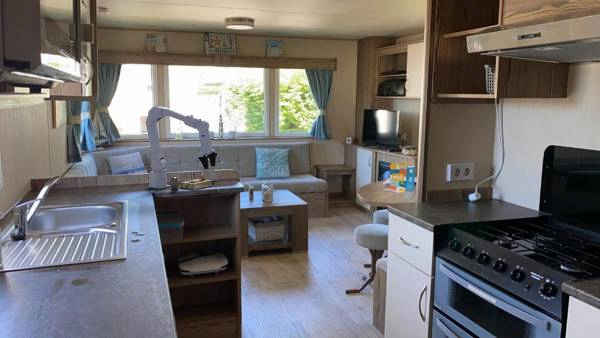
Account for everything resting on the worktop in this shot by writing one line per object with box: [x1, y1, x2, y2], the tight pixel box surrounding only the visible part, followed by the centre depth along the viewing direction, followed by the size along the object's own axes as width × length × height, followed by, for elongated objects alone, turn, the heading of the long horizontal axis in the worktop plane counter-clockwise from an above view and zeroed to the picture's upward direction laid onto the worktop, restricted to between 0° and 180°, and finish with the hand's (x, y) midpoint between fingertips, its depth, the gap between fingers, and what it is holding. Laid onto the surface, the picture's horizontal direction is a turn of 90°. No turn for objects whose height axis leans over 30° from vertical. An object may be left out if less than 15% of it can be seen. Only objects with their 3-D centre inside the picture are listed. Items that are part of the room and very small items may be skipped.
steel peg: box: [169, 176, 179, 192], centre depth 251 cm, size 4×4×7 cm
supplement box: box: [198, 158, 216, 182], centre depth 279 cm, size 7×7×13 cm
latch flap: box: [196, 174, 206, 180], centre depth 264 cm, size 3×4×1 cm
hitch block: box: [180, 178, 213, 191], centre depth 261 cm, size 10×13×3 cm
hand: (209, 167), depth 259 cm, fingers open, 7 cm apart
